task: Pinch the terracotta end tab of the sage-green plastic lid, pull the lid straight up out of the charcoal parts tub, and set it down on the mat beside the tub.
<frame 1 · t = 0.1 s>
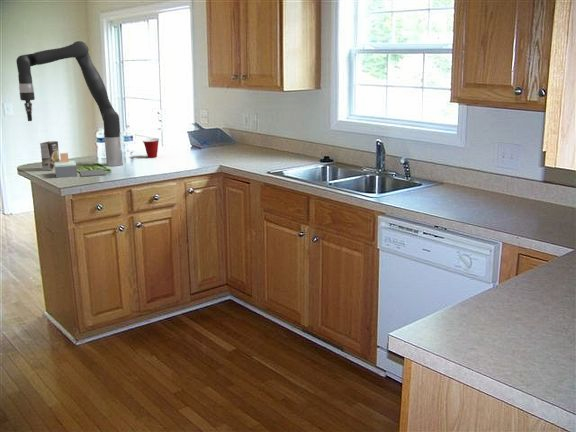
hand: (30, 120, 354), 29 cm above the worktop, fingers open, 8 cm apart
coffee box: (51, 169, 365), on the worktop
mat: (92, 173, 351), on the worktop
lid: (65, 166, 346), point 5 cm above the worktop, touching tub
tub: (66, 174, 347), on the worktop
plastic cup: (151, 157, 403), on the worktop
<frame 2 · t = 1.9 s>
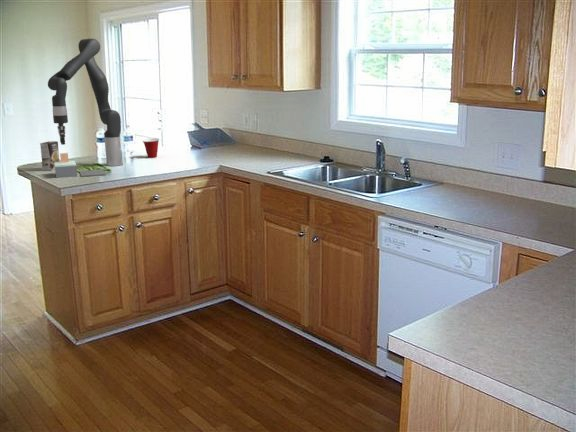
hand: (62, 143, 346), 17 cm above the worktop, fingers open, 8 cm apart
nothing on the worktop moved.
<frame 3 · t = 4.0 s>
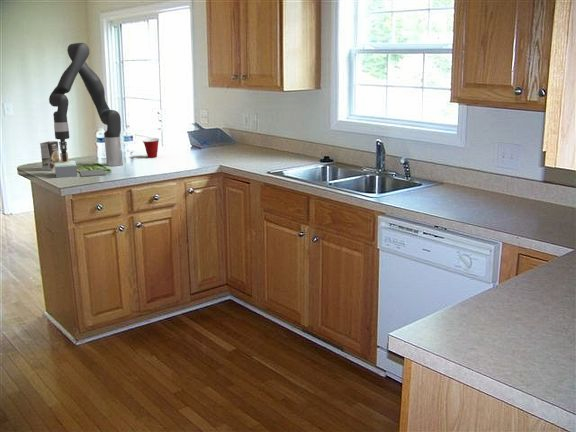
hand: (64, 160, 349), 8 cm above the worktop, fingers closed on lid
lid: (65, 166, 346), point 5 cm above the worktop, touching gripper, tub
everything else where it was.
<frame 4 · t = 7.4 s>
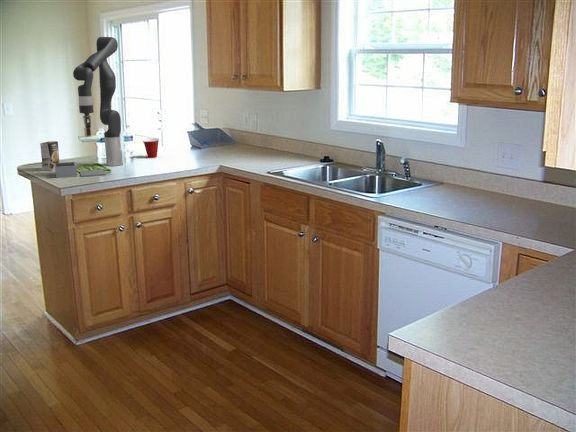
hand: (88, 135, 348), 21 cm above the worktop, fingers closed on lid
lid: (89, 140, 346), point 19 cm above the worktop, touching gripper
everything else where it was.
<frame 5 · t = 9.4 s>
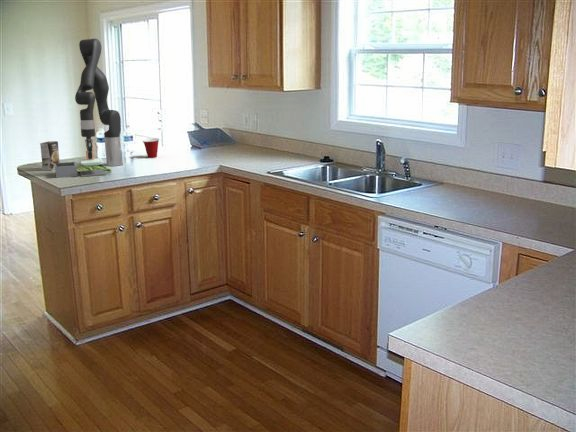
hand: (90, 158, 352), 8 cm above the worktop, fingers closed on lid
lid: (91, 163, 349), point 6 cm above the worktop, touching gripper
everything else where it was.
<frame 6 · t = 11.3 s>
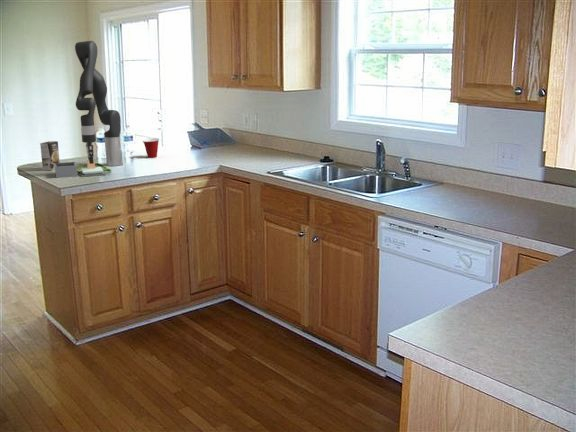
hand: (91, 162, 352), 6 cm above the worktop, fingers open, 7 cm apart
lid: (92, 172, 351), point 1 cm above the worktop, touching mat
everything else where it was.
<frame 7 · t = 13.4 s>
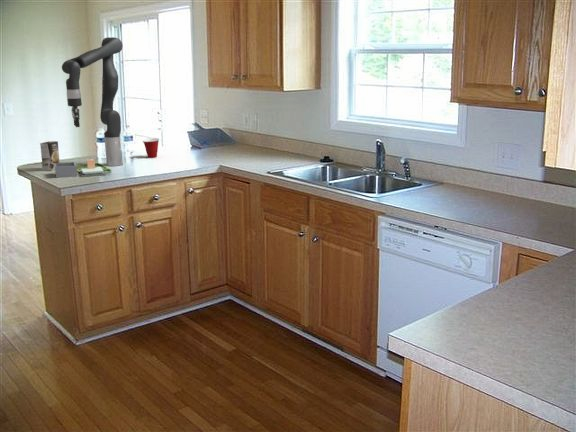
hand: (76, 126, 352), 26 cm above the worktop, fingers open, 8 cm apart
nothing on the worktop moved.
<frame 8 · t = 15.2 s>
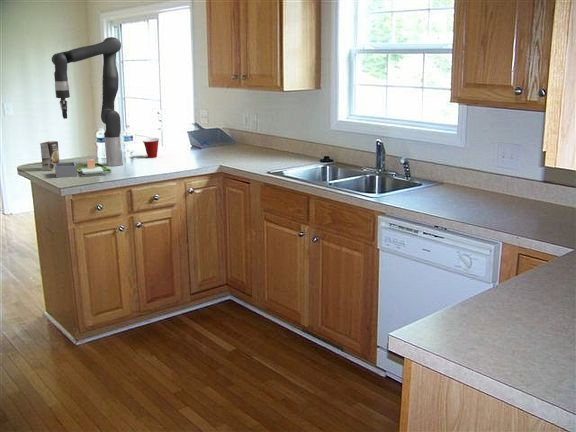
hand: (65, 117, 357), 30 cm above the worktop, fingers open, 8 cm apart
nothing on the worktop moved.
at the end: lid inside the target area on the mat (0.3 cm from its centre), point 0.6 cm above the mat's base; lid touching mat; the gripper is holding nothing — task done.
